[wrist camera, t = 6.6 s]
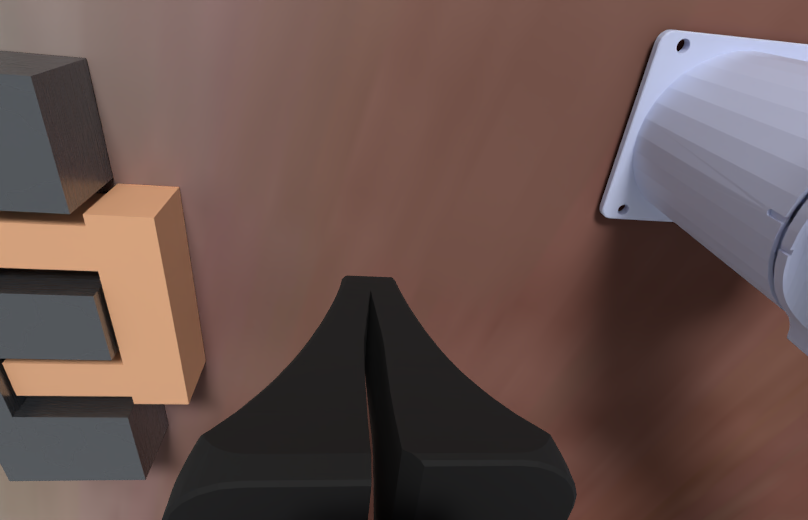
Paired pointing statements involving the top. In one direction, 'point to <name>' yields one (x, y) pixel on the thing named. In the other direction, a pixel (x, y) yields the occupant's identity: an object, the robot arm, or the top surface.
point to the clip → (117, 293)
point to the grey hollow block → (60, 285)
